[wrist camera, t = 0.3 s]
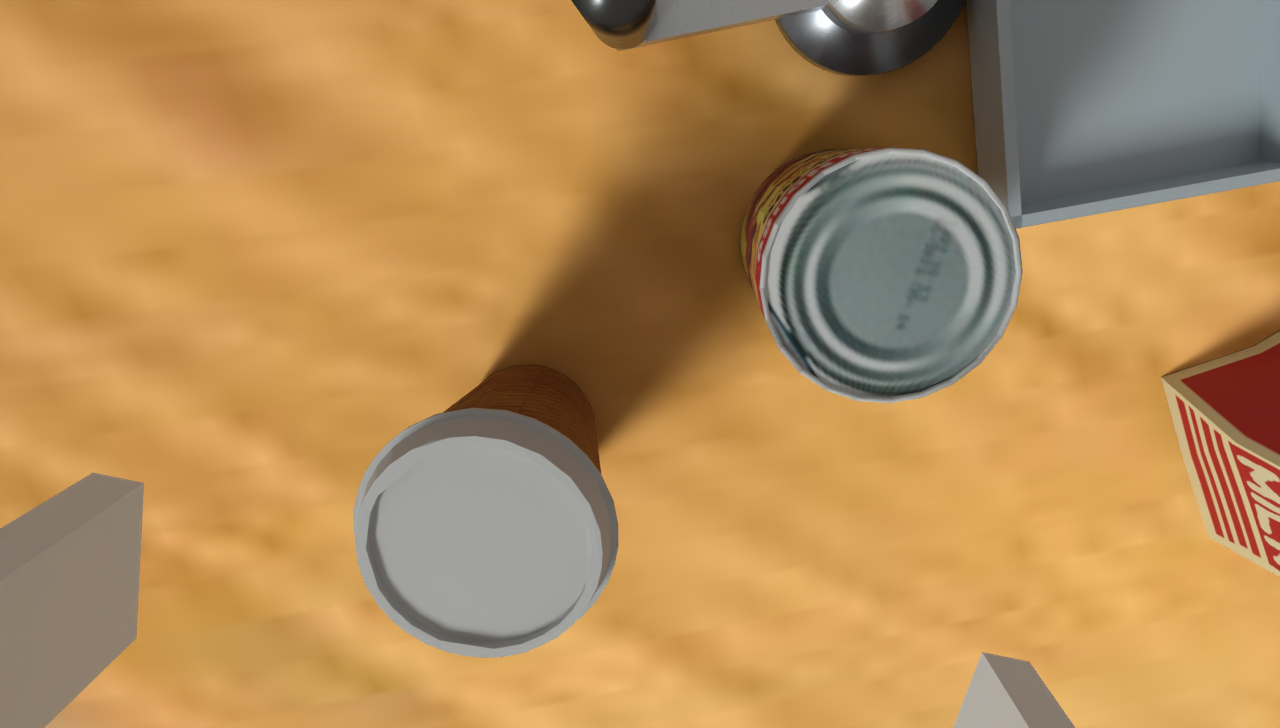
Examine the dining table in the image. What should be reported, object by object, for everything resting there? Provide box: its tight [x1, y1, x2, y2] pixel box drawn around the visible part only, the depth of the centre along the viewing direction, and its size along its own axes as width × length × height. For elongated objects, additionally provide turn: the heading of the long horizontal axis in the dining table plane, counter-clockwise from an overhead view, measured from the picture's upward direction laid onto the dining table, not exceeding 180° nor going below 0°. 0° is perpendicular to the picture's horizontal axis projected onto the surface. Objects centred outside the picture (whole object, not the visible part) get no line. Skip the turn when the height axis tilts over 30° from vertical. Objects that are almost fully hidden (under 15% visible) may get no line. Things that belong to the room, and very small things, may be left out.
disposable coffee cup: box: [354, 365, 618, 658], centre depth 34 cm, size 10×10×12 cm
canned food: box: [740, 147, 1022, 403], centre depth 31 cm, size 8×8×12 cm
